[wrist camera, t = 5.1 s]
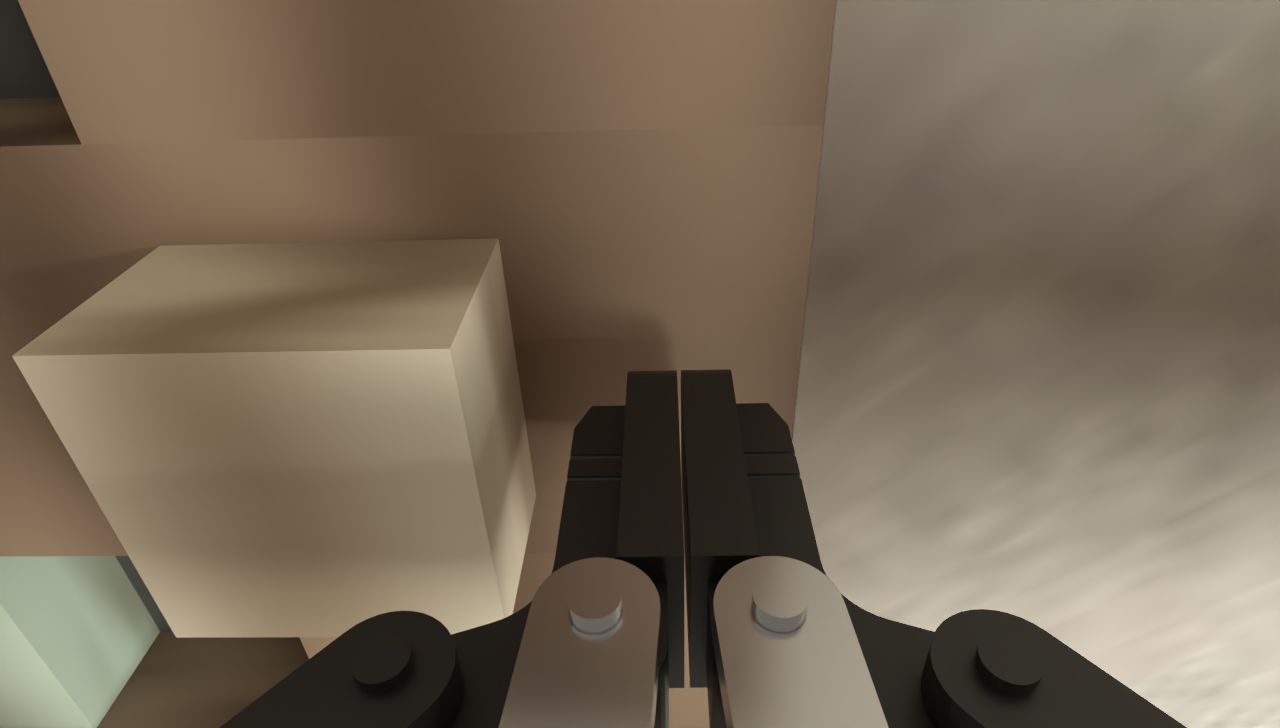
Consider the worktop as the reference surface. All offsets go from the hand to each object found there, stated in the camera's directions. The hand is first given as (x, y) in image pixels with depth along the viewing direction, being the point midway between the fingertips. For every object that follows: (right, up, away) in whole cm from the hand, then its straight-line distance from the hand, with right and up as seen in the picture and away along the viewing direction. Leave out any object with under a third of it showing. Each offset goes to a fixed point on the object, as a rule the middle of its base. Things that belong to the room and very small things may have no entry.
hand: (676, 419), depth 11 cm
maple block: (-5, +1, +1) cm, 5 cm away
